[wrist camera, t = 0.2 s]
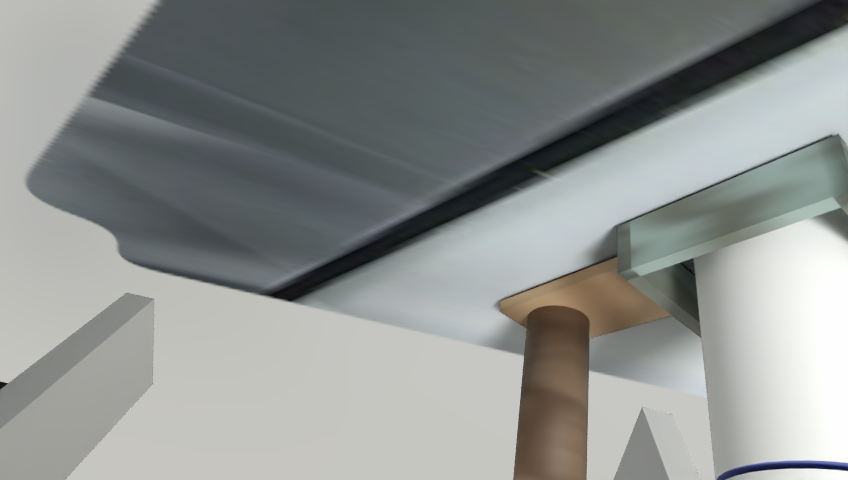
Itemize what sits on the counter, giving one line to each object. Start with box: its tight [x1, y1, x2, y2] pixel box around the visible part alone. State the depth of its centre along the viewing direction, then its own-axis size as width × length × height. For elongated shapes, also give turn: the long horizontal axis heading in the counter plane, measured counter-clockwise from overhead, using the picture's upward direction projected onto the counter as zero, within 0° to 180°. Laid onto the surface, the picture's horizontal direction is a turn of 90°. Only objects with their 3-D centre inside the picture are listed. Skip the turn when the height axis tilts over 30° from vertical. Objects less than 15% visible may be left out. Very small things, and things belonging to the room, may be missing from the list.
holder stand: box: [500, 134, 848, 480], centre depth 31 cm, size 21×11×13 cm, turn 138°
